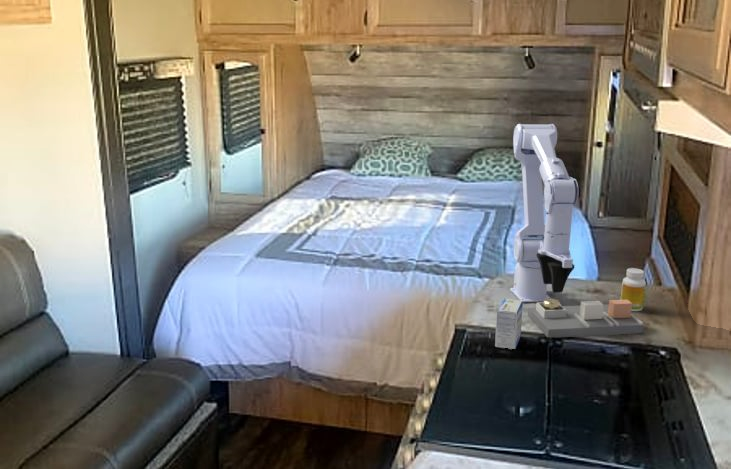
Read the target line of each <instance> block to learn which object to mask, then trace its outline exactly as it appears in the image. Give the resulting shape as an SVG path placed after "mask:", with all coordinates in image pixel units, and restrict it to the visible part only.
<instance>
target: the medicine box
mask: <svg viewBox="0 0 731 469" xmlns="http://www.w3.org/2000/svg"><path fill="white" fill-rule="evenodd" d="M523 303H524V302H523V301H520V300H519V299H512V298H504V299H503V300H502V302H501V304H500V305H499V308H498V309H497V311H496V319H495V320H496V322H495V336H494V338H495V343H494V346H495V347H496V348H500V349H505V348H508V349H507V350H512V349H515V350H516V348H517V346H518V343H519V341H520V339H521V336H522V334H521V333H522V322H523V321H522V320H523V309H524V308H523V306H524V304H523Z"/></svg>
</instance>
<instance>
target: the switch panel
mask: <svg viewBox="0 0 731 469" xmlns="http://www.w3.org/2000/svg"><path fill="white" fill-rule="evenodd" d="M543 302H544V301H542V302H535V303H536V304H535V305H536V306H535V307H528V308H527V317H528V318H529V319H530V320H531V321H532V322H533V323H534V325H536V327H537V328H538V329H539V330H540V331H541V332H542V333H543V334H544V335H545V336H546V337H547V338H548V337H549V338H548V339H552V338H553V337H554V338H568V337H569V338H570V337H571V338H572V337H588V336H592V337H593V336H611V335H633V334H643V331H644V330H643V329H644V322H643V321H641V320H640V319H639V318H638V317H637V316H635V315H634V314H632V313H631V318H612V317H611V316H609V315H608V308H609V303H606V304H603V315H602V319H589V320H584V319H583V318H581V317H580V316H579V314H580V305H562V304H561V303H559V309H558V310H547V309H545V308H543ZM554 338H553V339H554Z"/></svg>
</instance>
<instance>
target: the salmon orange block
mask: <svg viewBox="0 0 731 469" xmlns="http://www.w3.org/2000/svg"><path fill="white" fill-rule="evenodd" d="M608 304H609V308H608V315H609V316H611V317H612V318H631V314H632V312H633V311H632V303H631V302H630V301H629V300H620V299H609V301H608Z"/></svg>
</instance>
